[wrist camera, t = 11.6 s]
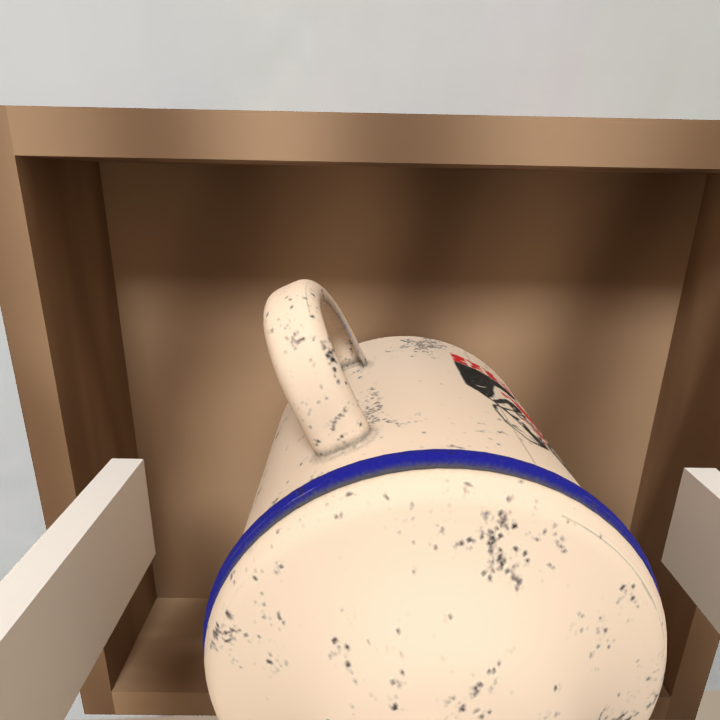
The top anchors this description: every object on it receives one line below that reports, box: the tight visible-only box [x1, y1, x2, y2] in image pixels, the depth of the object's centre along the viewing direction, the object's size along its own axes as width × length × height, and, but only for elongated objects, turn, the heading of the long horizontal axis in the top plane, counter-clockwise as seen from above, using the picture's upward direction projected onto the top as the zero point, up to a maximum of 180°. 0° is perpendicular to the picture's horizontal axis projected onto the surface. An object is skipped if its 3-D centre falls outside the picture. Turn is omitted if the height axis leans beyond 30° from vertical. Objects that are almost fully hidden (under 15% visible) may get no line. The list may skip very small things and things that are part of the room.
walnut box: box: [0, 105, 720, 720], centre depth 17 cm, size 20×18×5 cm
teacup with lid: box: [203, 279, 667, 720], centre depth 13 cm, size 12×9×12 cm
